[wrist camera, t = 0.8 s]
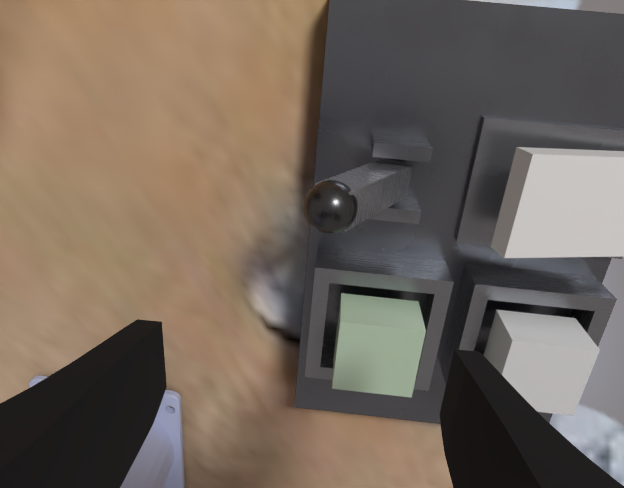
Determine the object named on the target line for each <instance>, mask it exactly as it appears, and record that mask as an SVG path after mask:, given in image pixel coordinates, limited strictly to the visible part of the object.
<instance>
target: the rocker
mask: <svg viewBox="0 0 624 488" xmlns="http://www.w3.org/2000/svg"><path fill="white" fill-rule="evenodd" d="M491 248H493V249H494V250H495V251H496V252H497V253H499V254H500V255H501V256H502V257H503V258H551V257H621V256H624V151H606V150H580V149H554V148H529V147H516V151H515V155H514V158H513V162H512V166H511V170H510V174H509V178H508V182H507V185H506V189H505V193H504V197H503V201H502V205H501V208H500V212H499V216H498V220H497V224H496V228H495V232H494V235H493V239H492V243H491Z"/></svg>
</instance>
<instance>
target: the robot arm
mask: <svg viewBox="0 0 624 488" xmlns="http://www.w3.org/2000/svg"><path fill="white" fill-rule="evenodd" d="M166 387H167V386H166V373H165V360H164V347H163V334H162V322H157V321H147V320H136V321H134V322H133V323H131V324H130V325H128V326H126V327H125V328H123V329H122V330H120V331H119V332H117V333H116V334H114V335H113V336H111V337H110V338H108V339H107V340H105V341H104V342H102V343H101V344H99V345H98V346H96V347H95V348H93V349H92V350H90V351H89V352H87V353H86V354H84V355H83V356H81V357H80V358H78V359H77V360H75V361H74V362H72V363H70V364H69V365H67V366H66V367H64V368H62V369H61V370H59V371H57V372H56V373H54V374H52V375H51V376H49V377H48V376H35V377H33V379H32V380H31V381H30V382H29V389H27V390H25V391H23V392H21V393H20V394H18V395H16V396H14V397H12V398H10V399H8V400H7V401H5V402H3V403H1V404H0V488H185V479H184V454H183V429H182V405H181V396H180V395H179V394H178V393H177V392H175V391H172V390H166ZM169 406H171V407H173V408H170V407H169ZM440 422H441V430H442V438H443V445H444V451H445V456H446V460H447V464H448V468H449V472H450V476H451V480H452V484H453V487H454V488H624V486H623V485H621V484H620V483H619V482H617V481H616V480H615V479H613V478H612V477H611V476H610V475H608V474H607V473H606V472H605V471H603V470H602V469H601V468H600V467H598V466H597V465H596V464H595V463H593V462H592V461H591V460H590V459H589V458H587V457H586V456H585V455H584V454H583V453H581V452H580V451H579V450H578V449H577V448H576V447H575V446H573V445H572V444H571V443H570V442H569V441H568V440H567V439H566V438H565V437H564V436H562V435H561V434H560V433H559V432H558V431H557V430H556V429H555V428H554V427H553V426H552V425H550V424H549V423H548V422H547V421H546V420H545V419H544V418H543V417H542V416H541V415H540V414H539V413H538V412H537V411H536V410H535V409H534V408H533V407H532V406H531V405H530V404H529V403H528V402H527V401H526V400H525V399H524V398H523V397H522V396H521V395H520V394H519V393H518V392H517V391H516V389H515V388H514V387H513V386H512V385H511V384H510V383H509V382H508V381H507V380H506V379H505V378H504V377H503V376H502V375H501V374H500V372H499V371H498V370H497V369H496V368H495V367H494V366H493V365H492V364H491V363H490V362H489V361H488V360H487V359H486V358H485V357H484V356H483V355H482V354H481V353H480V352H477V351H467V350H456V349H454V353H453V357H452V361H451V366H450V370H449V375H448V379H447V383H446V388H445V392H444V397H443V401H442V405H441V410H440Z"/></svg>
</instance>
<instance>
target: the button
mask: <svg viewBox="0 0 624 488" xmlns="http://www.w3.org/2000/svg"><path fill="white" fill-rule="evenodd" d="M425 333H426V329H425V325H424V321H423V317H422V313H421V309H420V305H419V301H410V300H401V299H391V298H382V297H373V296H363V295H354V294H344V293H341V299H340V307H339V315H338V323H337V331H336V340H335V348H334V356H333V377H332V389H339V390H348V391H357V392H366V393H375V394H384V395H393V396H402V397H411V398H412V394H413V389H414V384H415V380H416V375H417V370H418V366H419V361H420V357H421V352H422V347H423V343H424V338H425Z"/></svg>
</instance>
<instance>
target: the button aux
mask: <svg viewBox="0 0 624 488" xmlns="http://www.w3.org/2000/svg"><path fill="white" fill-rule="evenodd" d="M599 351H600V349H599V348H598V347H597V345H596V344H595V343H594V342H593V340H592V339H591V338H590V336H589V335H588V334H587V333H586V331H585V330H584V329H583V327H582V326H581V325H580V324H579V322H578V321H577V320H576V318H570V317H561V316H551V315H542V314H533V313H523V312H514V311H504V310H496V313H495V317H494V320H493V324H492V327H491V331H490V334H489V338H488V341H487V345H486V349H485V352H484V357H485V358H486V359H487V360H488V361H489V362H490V363H491V364H492V365H493V366H494V367H495V368H496V369H497V370H498V371H499V372H500V374H501V375H502V376H503V377H504V378H505V379H506V380H507V381H508V382H509V383H510V384H511V385H512V386H513V387H514V388H515V389H516V391H517V392H518V393H519V394H520V395H521V396H522V397H523V398H524V399H525V400H526V401H527V402H528V403H529V404H530V405H531V406H532V407H533V408H534V409H535V410H536V411H537V412H544V413H553V414H562V415H571V416H573V415H574V413H575V410H576V408H577V406H578V403H579V400H580V398H581V396H582V393H583V390H584V388H585V386H586V383H587V381H588V378H589V375H590V373H591V371H592V368H593V366H594V363H595V361H596V358H597V356H598V353H599Z"/></svg>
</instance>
